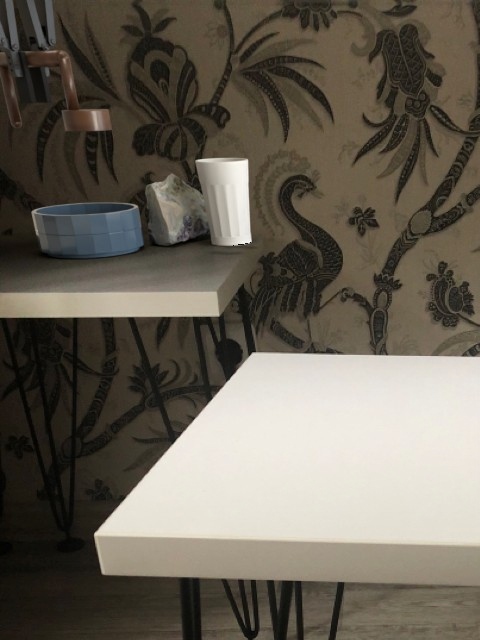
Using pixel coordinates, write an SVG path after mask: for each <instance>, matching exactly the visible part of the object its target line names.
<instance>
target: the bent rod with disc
mask: <svg viewBox="0 0 480 640" xmlns="http://www.w3.org/2000/svg"><path fill="white" fill-rule="evenodd" d="M24 52H25V53H26V58H27V62H28V67H49V68H59V72H60V77H61V78H60V79H61V83H62V88H63V92H64V98H65V102H66V108H67V109H63V110H61V116H62V120H63V125H64V130H65V132H104V131H111V130H113V128H112V126H113V125H112V120H111V116H110V115H111V114H110V111H109V110H110V109H108V108H83V109H81V108H80V105H79V100H78V93H77V89H76V84H75V78H74V73H73V68H72V67H73V66H72V62H71V58H70V55H69V54H68V53H67V52H66V51H65V50H62V49H61V50H59V49H57V50H56V49H55V50H49V51H31V50H30V51H24ZM0 81H1V86H2V91H3V95H4V98H5V99H4V100H5V104H6V107H7V108H6V109H7V113H8V117H9V121H10V125H11V126H12V127H13V128H15V129H19V128H21V127H22V125H23V122H22V116H21V113H20V108H19V103H18V98H17V94H16V93H17V92H16V89H15V84H14V80H13V77H11V75H10V73H9V68H8V64H7V59H6V55H5V52H2V51H1V52H0Z"/></svg>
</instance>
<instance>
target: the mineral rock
mask: <svg viewBox="0 0 480 640" xmlns="http://www.w3.org/2000/svg"><path fill="white" fill-rule="evenodd" d="M144 191H145V193H144V194H145V198H146V203H147V204H146V210H147V211H148V216H149V222H148V223H147V227H146V229H147V231H148V238H149V239H148V242H149V243H150V244H156V245H158V246H165V247H166V246H167V247H168V246H172V245H175V244H178V243H180V242H186V241H188V240H190V239H196V237H198V236H200V235H201V236H202V235H205V234H206V233H207V232H208V231H210V227H209V223H208V218H207V213H206V208H205V203H204V198H203V193H201V192H200V191H199V190H198V189H196V188H194V187H191V186H190V184H188V183H186V182H185V181H184V180H183V179H182V178H181V177H179V176H177V175H176V174H174V173H171V172H170V174H169V175H167V177H166V178H165V179H164V180H162V181H157V182H156V181H154V182H153V183H150V184H147V185H146V186H145V189H144Z"/></svg>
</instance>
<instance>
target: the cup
mask: <svg viewBox="0 0 480 640" xmlns="http://www.w3.org/2000/svg"><path fill="white" fill-rule="evenodd" d="M194 162H195V167H196V172H197V176H198V180H199V184H200V187H201V192H202V193H201V194H202V195H203V198H204V203H205V208H206V213H207V218H208V223H209V227H210V229H209V232H210V241H211V245H213V246H221V247H222V246H223V247H224V246H226V247H232V246H233V245H234V246H239V245H238V244H244V245H246V244H245V243H248V244H251V243H252V240H253V239H252V232H251V216H250V215H251V214H250V211H251V210H250V191H249V179H250V178H249V177H250V176H249V158H243V157H213V158H211V157H210V158H202V159H196V160H195V161H194ZM250 242H251V243H250ZM234 246H233V247H234Z"/></svg>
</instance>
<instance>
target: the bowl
mask: <svg viewBox="0 0 480 640" xmlns="http://www.w3.org/2000/svg"><path fill="white" fill-rule="evenodd" d="M31 216H32V221H33V227H34V231H35V235H36V240H37V243H38V248H39V251H40V252H42V253H45V254H46V255H47V256H48V257H52V258H59V259H95V258H109V257H116V256H122V255H126V254H131V253H134V252H137V251H139V250H140V249H141V247H143V246H144V245H145V238H144V232H143V226H142V221H141V220H142V219H141V214H140V208H139V206H138V205H137V204H135V203H126V202H80V203H78V202H77V203H66V204H57V205H56V204H55V205H50V206H43V207H39V208H36V209H33V210H32V211H31Z"/></svg>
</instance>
